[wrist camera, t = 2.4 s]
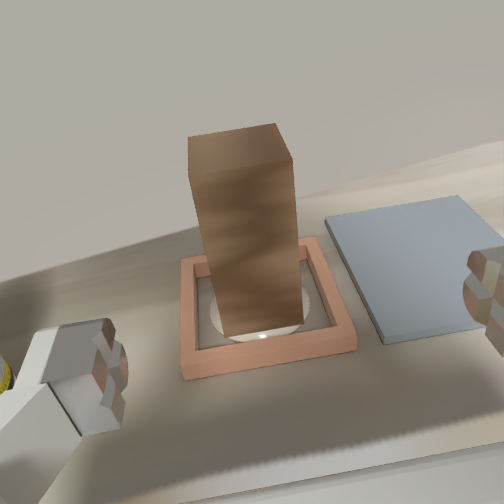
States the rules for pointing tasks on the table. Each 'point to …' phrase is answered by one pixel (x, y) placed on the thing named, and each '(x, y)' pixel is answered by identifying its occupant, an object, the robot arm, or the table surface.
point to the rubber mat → (413, 264)
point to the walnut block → (248, 226)
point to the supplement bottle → (6, 376)
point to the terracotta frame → (265, 342)
